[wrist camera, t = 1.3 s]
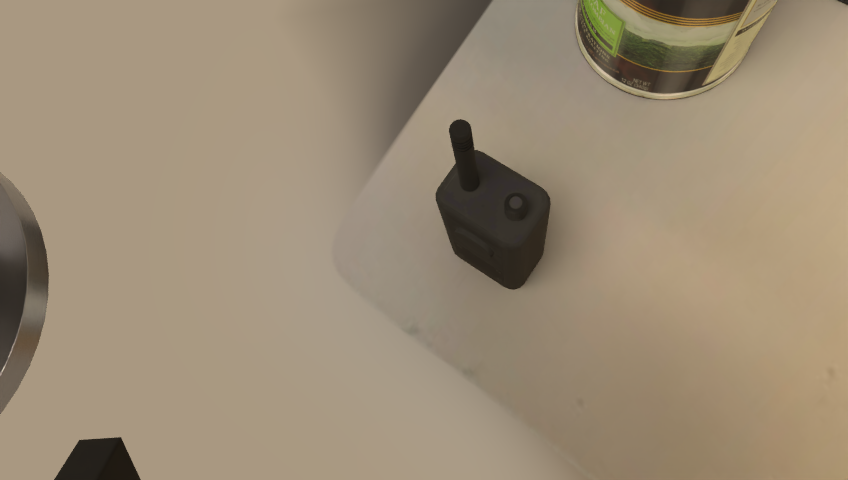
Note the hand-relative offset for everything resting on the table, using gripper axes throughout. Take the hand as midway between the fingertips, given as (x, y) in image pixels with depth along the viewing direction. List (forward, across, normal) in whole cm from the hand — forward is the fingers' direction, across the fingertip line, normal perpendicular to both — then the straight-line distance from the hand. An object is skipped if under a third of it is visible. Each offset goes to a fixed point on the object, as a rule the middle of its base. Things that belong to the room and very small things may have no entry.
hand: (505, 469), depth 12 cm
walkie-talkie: (+26, 0, -11) cm, 28 cm away
